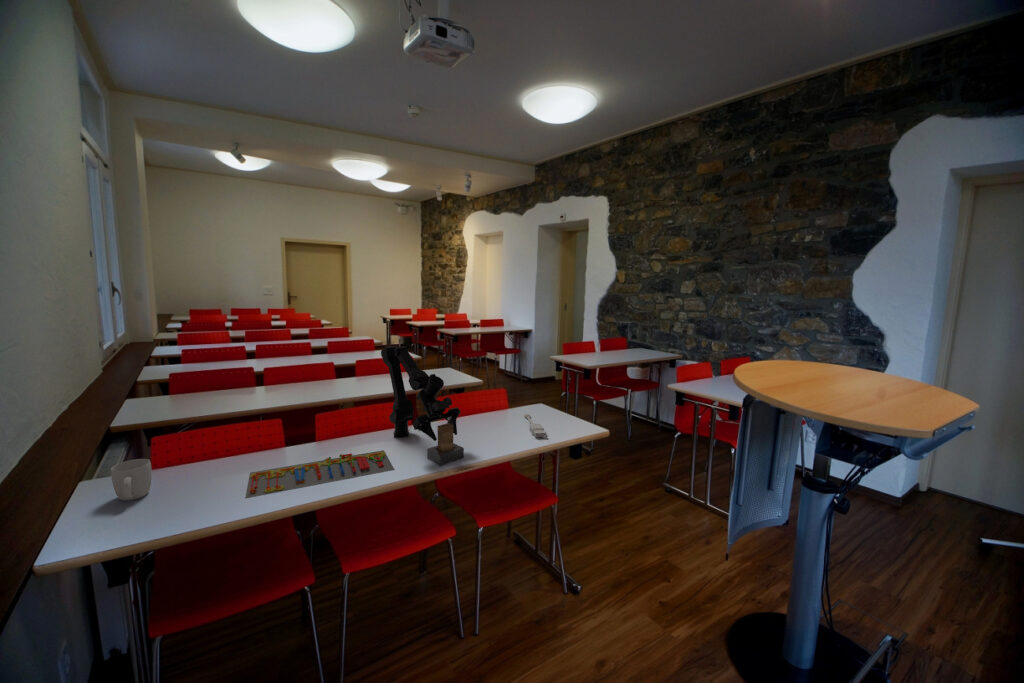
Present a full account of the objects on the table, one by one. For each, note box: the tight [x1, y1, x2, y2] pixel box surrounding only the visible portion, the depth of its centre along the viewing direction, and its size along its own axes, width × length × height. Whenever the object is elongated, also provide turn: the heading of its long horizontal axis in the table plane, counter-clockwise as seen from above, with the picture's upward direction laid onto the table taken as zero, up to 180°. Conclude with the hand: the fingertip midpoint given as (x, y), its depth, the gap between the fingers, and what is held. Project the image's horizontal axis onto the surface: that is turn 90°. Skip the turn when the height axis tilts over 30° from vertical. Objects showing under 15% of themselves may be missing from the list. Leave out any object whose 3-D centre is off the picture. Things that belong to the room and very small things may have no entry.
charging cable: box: [523, 413, 546, 438], centre depth 197 cm, size 5×32×3 cm, turn 9°
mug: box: [110, 458, 153, 502], centre depth 127 cm, size 13×9×10 cm
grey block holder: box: [426, 442, 465, 467], centre depth 159 cm, size 9×11×4 cm
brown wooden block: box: [437, 422, 454, 452], centre depth 159 cm, size 3×5×13 cm, turn 133°
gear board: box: [245, 450, 396, 499], centre depth 147 cm, size 45×2×19 cm
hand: (446, 437), depth 158 cm, fingers open, 9 cm apart
